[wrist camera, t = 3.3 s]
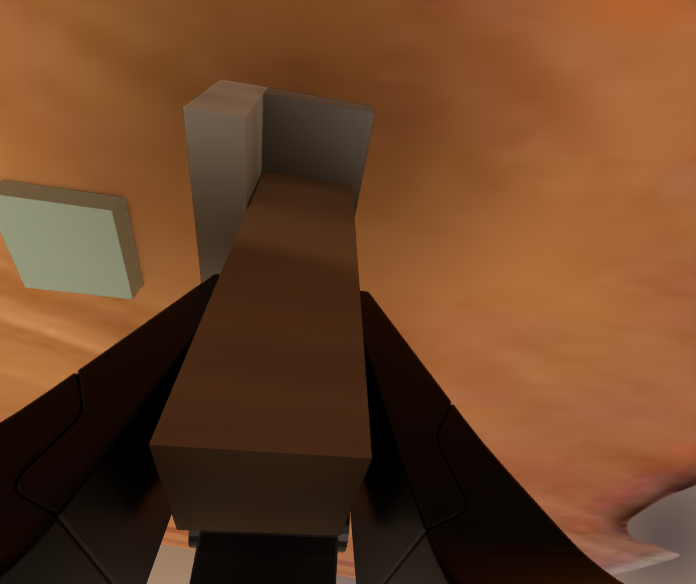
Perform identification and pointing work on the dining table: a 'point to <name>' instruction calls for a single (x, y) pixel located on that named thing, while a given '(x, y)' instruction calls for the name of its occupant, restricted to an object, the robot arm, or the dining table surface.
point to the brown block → (271, 318)
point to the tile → (70, 240)
